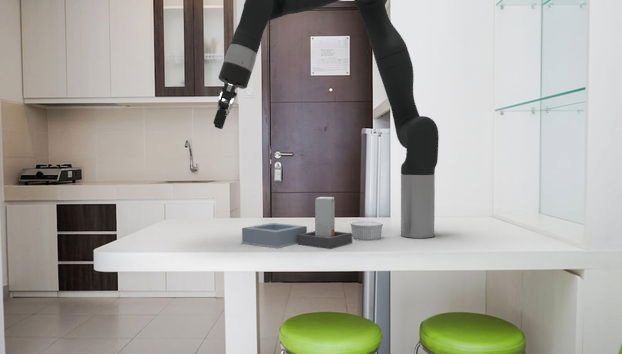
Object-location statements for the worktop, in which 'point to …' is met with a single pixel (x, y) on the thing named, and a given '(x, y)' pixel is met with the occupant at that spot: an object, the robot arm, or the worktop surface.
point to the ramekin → (366, 230)
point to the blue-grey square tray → (272, 235)
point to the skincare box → (324, 216)
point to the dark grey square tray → (325, 240)
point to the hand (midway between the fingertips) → (217, 126)
